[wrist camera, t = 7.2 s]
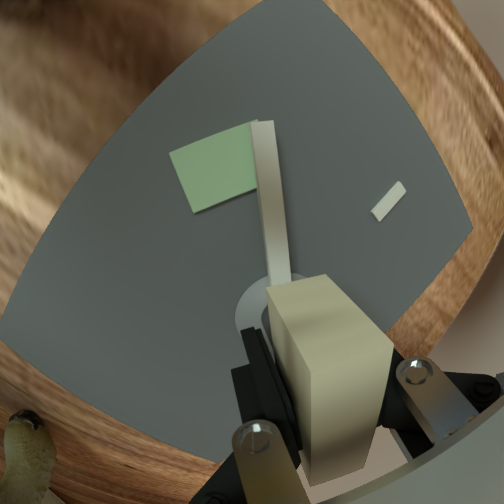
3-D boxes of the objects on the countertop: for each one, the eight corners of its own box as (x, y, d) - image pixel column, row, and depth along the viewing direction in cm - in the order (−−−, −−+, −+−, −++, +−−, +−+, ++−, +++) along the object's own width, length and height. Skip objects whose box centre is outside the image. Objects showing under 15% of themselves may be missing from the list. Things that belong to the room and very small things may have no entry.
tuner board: (214, 436, 19) (218, 465, 17) (13, 311, 13) (-7, 336, 11) (446, 217, 17) (475, 229, 14) (281, 1, 11) (299, -23, 8)
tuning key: (305, 360, 14) (363, 467, 8) (266, 370, 14) (310, 486, 8) (284, 120, 10) (397, 97, 4) (230, 126, 10) (287, 95, 4)
